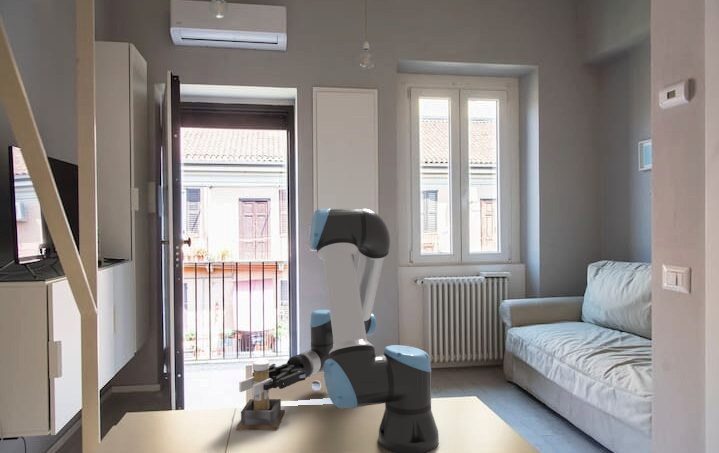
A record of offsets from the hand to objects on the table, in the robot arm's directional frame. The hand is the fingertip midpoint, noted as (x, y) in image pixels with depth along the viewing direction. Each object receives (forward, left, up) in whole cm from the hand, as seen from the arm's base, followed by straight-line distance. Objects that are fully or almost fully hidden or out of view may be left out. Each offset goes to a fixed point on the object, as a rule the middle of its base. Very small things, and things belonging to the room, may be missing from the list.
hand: (246, 388), depth 121 cm
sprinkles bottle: (0, -5, -8) cm, 9 cm away
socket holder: (0, -5, -11) cm, 12 cm away
